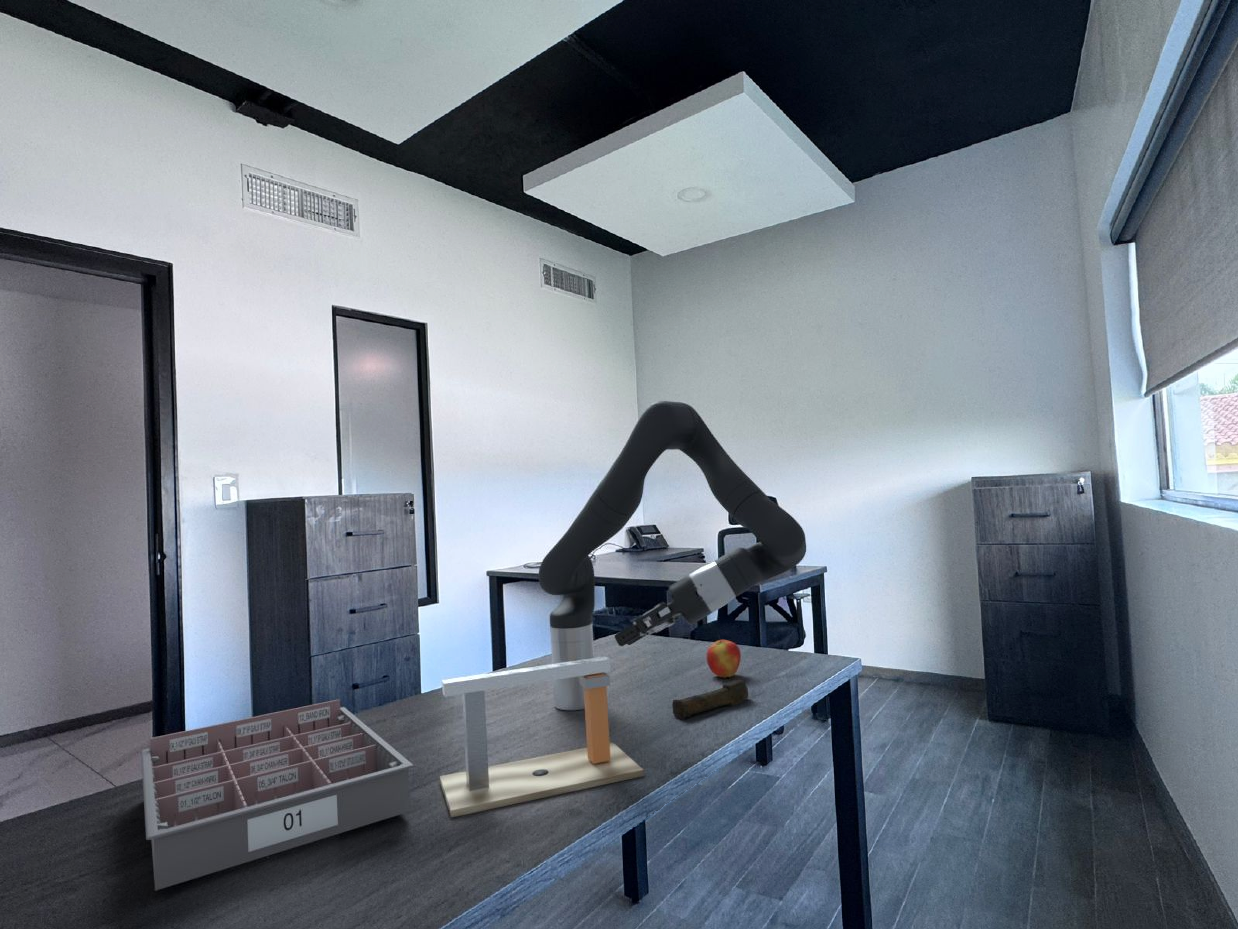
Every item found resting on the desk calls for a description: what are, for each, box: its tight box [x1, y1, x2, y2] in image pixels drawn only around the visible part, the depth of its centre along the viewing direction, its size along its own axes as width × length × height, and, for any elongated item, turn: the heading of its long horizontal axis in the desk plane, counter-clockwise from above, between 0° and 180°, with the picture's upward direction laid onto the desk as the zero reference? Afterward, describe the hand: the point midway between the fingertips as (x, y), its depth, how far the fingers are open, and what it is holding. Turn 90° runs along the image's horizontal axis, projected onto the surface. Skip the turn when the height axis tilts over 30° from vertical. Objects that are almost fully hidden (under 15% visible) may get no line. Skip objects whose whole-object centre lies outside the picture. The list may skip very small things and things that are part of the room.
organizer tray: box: [140, 699, 415, 891], centre depth 108 cm, size 32×40×10 cm
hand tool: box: [671, 679, 749, 720], centre depth 143 cm, size 19×4×5 cm, turn 121°
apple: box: [706, 634, 741, 679], centre depth 168 cm, size 8×8×10 cm
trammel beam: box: [441, 656, 611, 791], centre depth 112 cm, size 3×27×17 cm, turn 111°
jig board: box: [439, 742, 645, 818], centre depth 112 cm, size 14×30×1 cm, turn 111°
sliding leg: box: [579, 672, 611, 764], centre depth 116 cm, size 4×4×14 cm
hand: (621, 641), depth 120 cm, fingers open, 8 cm apart
